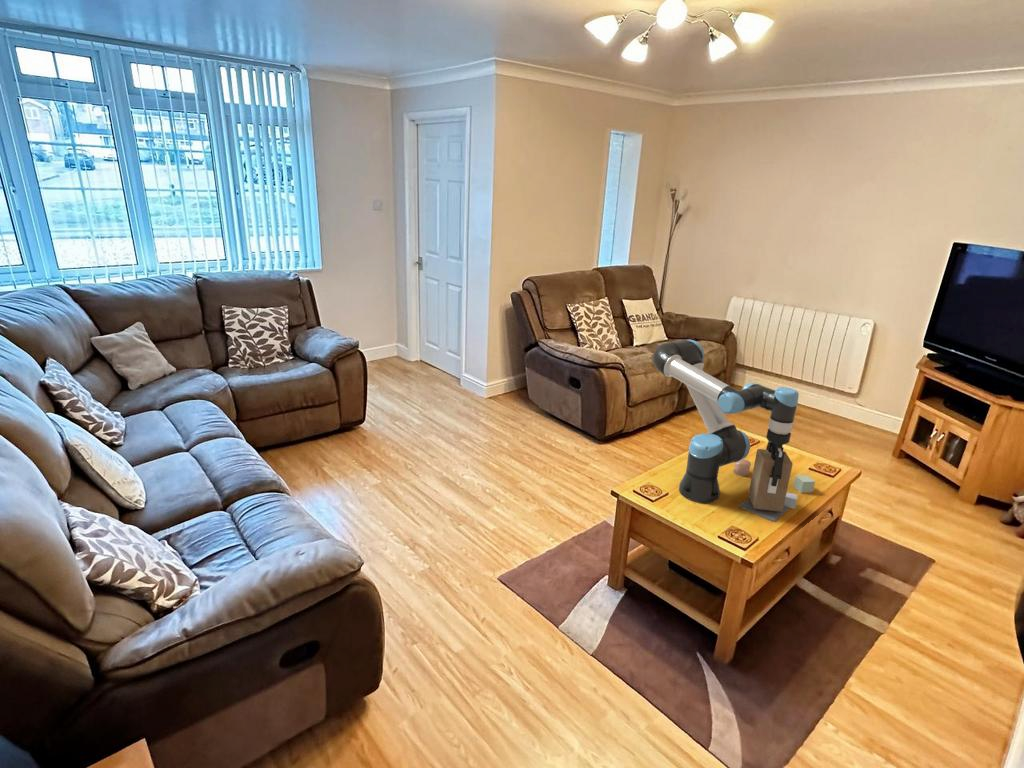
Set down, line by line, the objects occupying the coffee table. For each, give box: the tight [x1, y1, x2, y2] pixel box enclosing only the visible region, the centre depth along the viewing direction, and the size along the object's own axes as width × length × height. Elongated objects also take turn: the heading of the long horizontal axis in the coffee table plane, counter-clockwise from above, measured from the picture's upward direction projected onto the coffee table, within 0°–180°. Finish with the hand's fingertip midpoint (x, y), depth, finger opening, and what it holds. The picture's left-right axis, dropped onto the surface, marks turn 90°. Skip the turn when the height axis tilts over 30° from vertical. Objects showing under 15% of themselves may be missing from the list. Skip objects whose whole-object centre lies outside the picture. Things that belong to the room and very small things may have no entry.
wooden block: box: [748, 448, 794, 512], centre depth 199 cm, size 10×10×20 cm
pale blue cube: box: [784, 491, 798, 510], centre depth 205 cm, size 4×4×4 cm
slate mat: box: [738, 497, 790, 523], centre depth 203 cm, size 13×13×1 cm
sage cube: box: [792, 474, 816, 494], centre depth 216 cm, size 5×5×5 cm
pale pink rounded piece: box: [733, 458, 752, 477], centre depth 228 cm, size 6×6×5 cm
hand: (768, 485), depth 200 cm, fingers closed on wooden block, 10 cm apart
